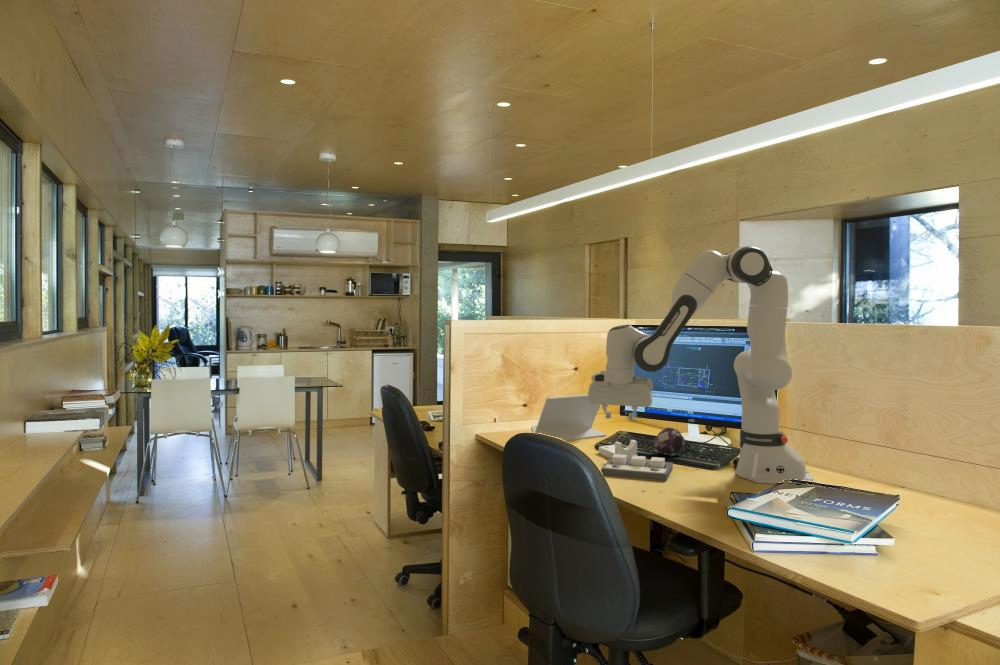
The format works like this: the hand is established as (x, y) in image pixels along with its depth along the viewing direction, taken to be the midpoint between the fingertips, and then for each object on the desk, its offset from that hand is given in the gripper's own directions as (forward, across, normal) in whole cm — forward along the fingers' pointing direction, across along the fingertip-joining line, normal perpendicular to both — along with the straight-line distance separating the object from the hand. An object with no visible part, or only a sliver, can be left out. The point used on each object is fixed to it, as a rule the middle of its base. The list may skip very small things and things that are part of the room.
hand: (619, 418), depth 226 cm
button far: (+15, 0, 0) cm, 15 cm away
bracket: (+18, +4, -15) cm, 24 cm away
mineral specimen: (+18, -12, -26) cm, 34 cm away
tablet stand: (+18, +30, -45) cm, 57 cm away
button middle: (+14, -6, 0) cm, 16 cm away
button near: (+15, -12, 0) cm, 19 cm away
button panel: (+17, -6, +2) cm, 18 cm away
